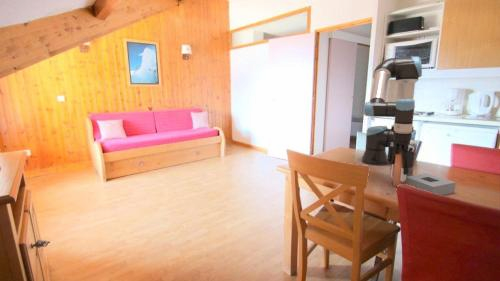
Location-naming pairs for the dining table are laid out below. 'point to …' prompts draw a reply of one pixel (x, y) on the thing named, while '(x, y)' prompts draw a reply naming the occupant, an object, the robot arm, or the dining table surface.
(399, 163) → the dowel
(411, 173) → the spray can
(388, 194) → the dining table surface
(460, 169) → the dining table surface
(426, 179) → the socket block
